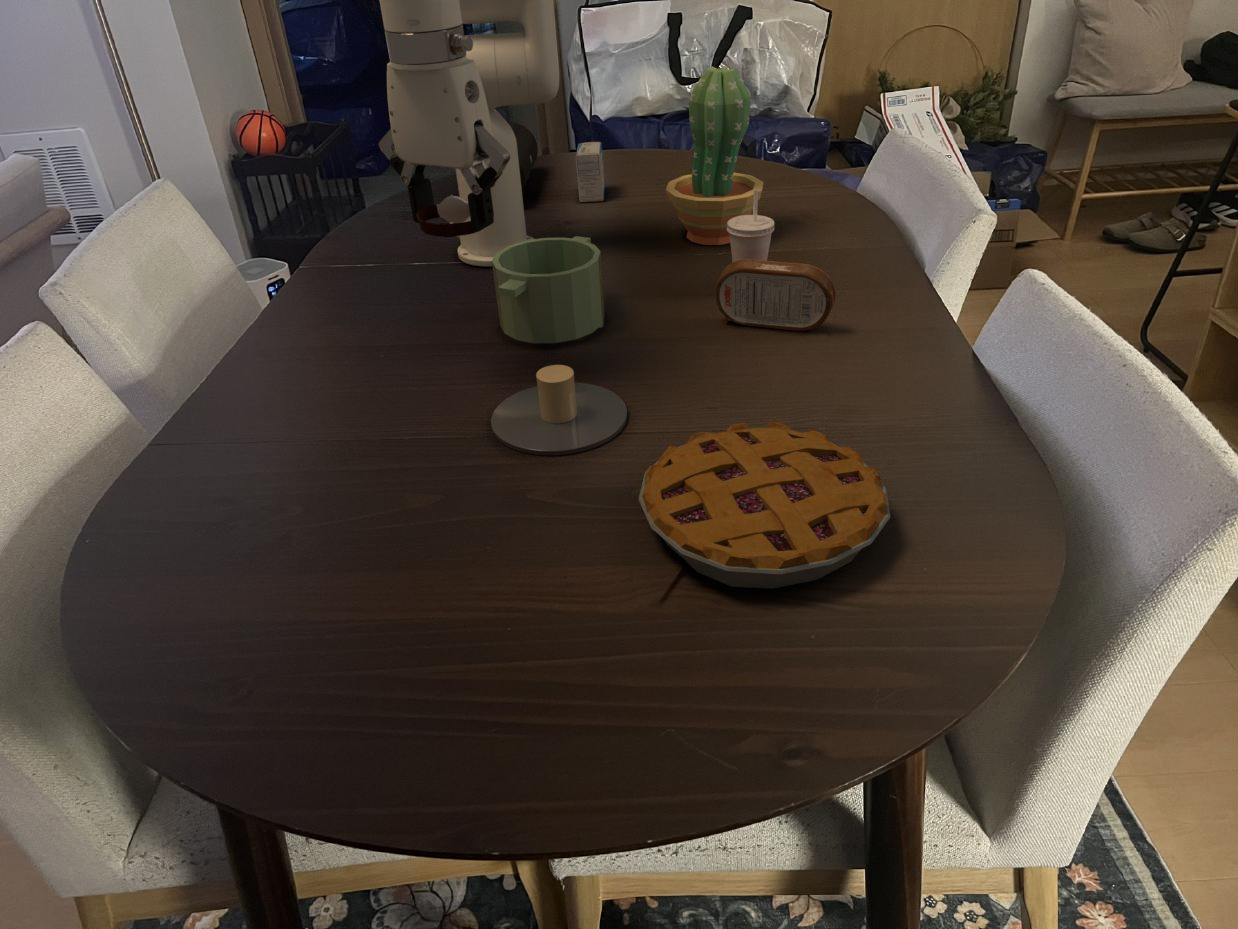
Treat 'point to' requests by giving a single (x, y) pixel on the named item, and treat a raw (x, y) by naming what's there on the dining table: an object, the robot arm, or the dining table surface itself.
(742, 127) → the potted cactus
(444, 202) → the watch
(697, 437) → the pie
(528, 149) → the portable speaker
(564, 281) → the pot
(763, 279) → the tin
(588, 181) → the medicine box
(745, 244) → the smoothie
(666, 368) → the dining table surface
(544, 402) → the lid
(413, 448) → the dining table surface
